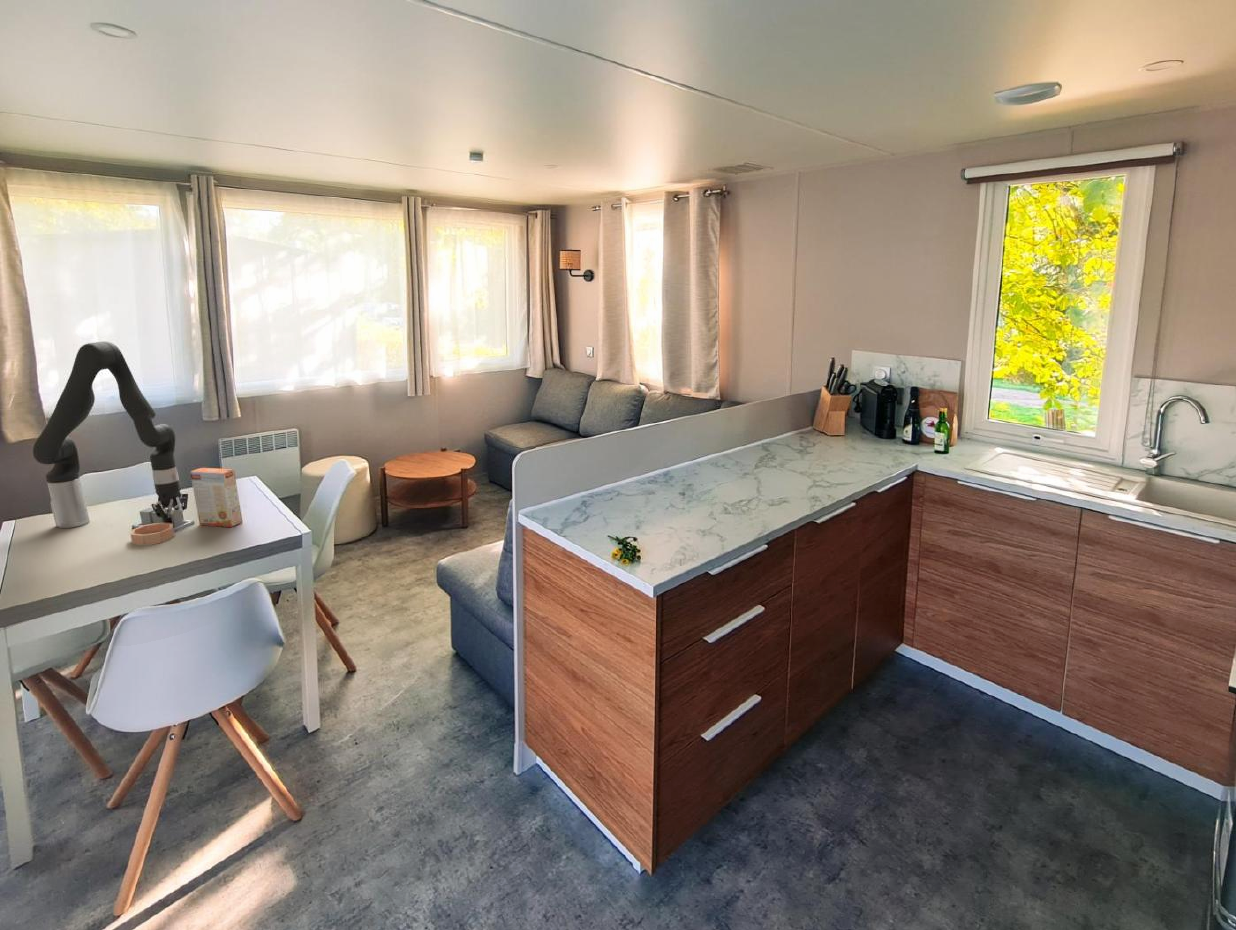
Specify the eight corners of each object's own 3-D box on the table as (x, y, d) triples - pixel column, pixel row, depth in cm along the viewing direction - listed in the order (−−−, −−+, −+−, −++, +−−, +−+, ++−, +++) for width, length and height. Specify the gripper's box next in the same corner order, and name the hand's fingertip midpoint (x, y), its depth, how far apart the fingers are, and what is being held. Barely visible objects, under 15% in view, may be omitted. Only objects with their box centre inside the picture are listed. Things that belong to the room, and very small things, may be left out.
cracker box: (243, 522, 245) (235, 468, 239) (231, 528, 239) (222, 473, 234) (211, 519, 248) (202, 466, 242) (198, 525, 242) (188, 471, 236)
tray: (132, 528, 239) (131, 525, 238) (153, 519, 247) (153, 517, 247) (173, 532, 235) (173, 529, 235) (194, 523, 244) (193, 520, 243)
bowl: (124, 543, 225) (122, 533, 224) (154, 530, 237) (152, 521, 236) (153, 546, 223) (151, 536, 222) (182, 533, 234) (180, 524, 233)
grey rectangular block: (166, 527, 239) (163, 513, 237) (175, 523, 242) (172, 509, 241) (175, 528, 238) (172, 514, 236) (184, 524, 242) (181, 510, 240)
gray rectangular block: (154, 526, 240) (151, 512, 238) (163, 522, 243) (160, 508, 242) (163, 527, 239) (160, 513, 237) (172, 523, 243) (169, 509, 241)
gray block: (142, 525, 241) (139, 511, 239) (151, 521, 244) (149, 507, 243) (151, 526, 240) (148, 512, 238) (160, 522, 244) (158, 508, 242)
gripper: (174, 473, 243) (182, 517, 247) (140, 485, 229) (149, 530, 234) (191, 475, 241) (199, 518, 246) (157, 486, 228) (167, 532, 233)
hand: (174, 524), depth 240 cm, fingers closed on grey rectangular block, 4 cm apart
